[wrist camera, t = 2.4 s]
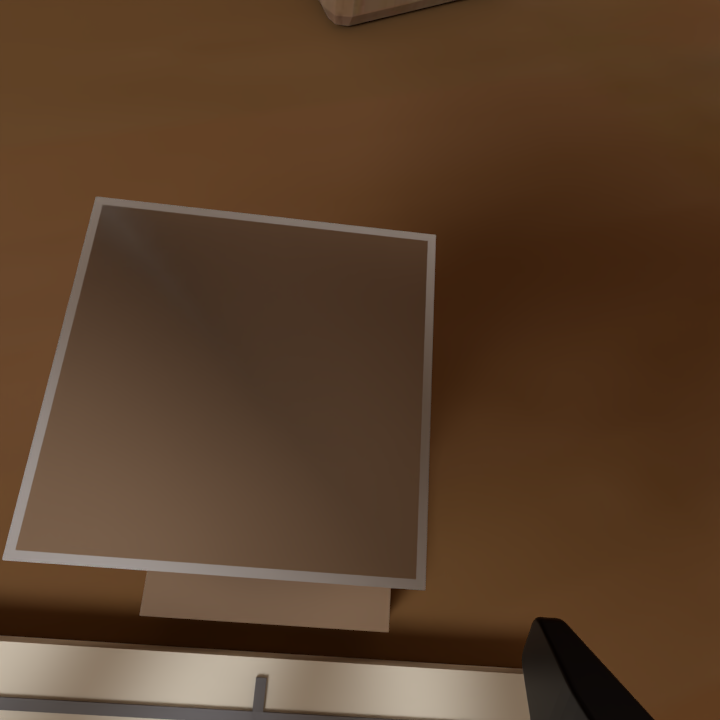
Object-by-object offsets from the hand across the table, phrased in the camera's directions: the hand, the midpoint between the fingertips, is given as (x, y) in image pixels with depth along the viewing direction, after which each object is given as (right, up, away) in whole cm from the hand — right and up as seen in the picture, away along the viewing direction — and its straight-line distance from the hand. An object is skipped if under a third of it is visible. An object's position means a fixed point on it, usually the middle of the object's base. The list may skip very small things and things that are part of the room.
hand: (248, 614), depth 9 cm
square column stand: (-1, -1, +11) cm, 11 cm away
